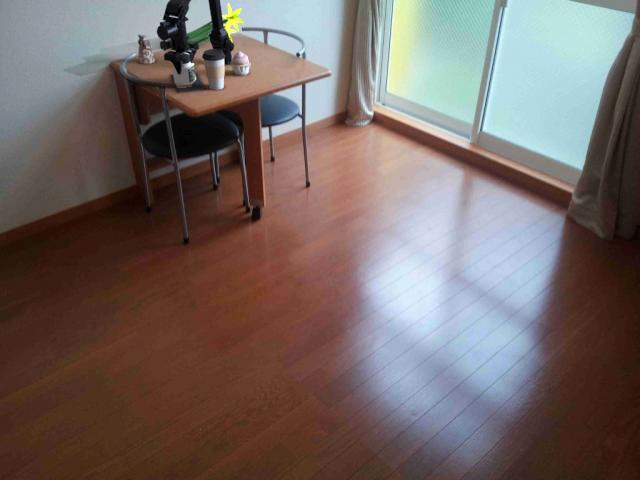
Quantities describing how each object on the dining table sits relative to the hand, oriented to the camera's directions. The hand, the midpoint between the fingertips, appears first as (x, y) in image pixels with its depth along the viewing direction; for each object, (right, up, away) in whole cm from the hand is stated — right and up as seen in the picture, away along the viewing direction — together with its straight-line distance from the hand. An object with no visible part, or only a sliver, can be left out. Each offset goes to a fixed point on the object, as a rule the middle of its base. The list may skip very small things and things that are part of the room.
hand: (184, 71), depth 243 cm
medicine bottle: (0, -4, +3) cm, 5 cm away
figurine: (-23, +11, +23) cm, 35 cm away
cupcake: (+22, +3, +13) cm, 26 cm away
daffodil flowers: (+3, +26, +44) cm, 51 cm away
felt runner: (+1, -4, +3) cm, 5 cm away
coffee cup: (+14, -7, 0) cm, 16 cm away
